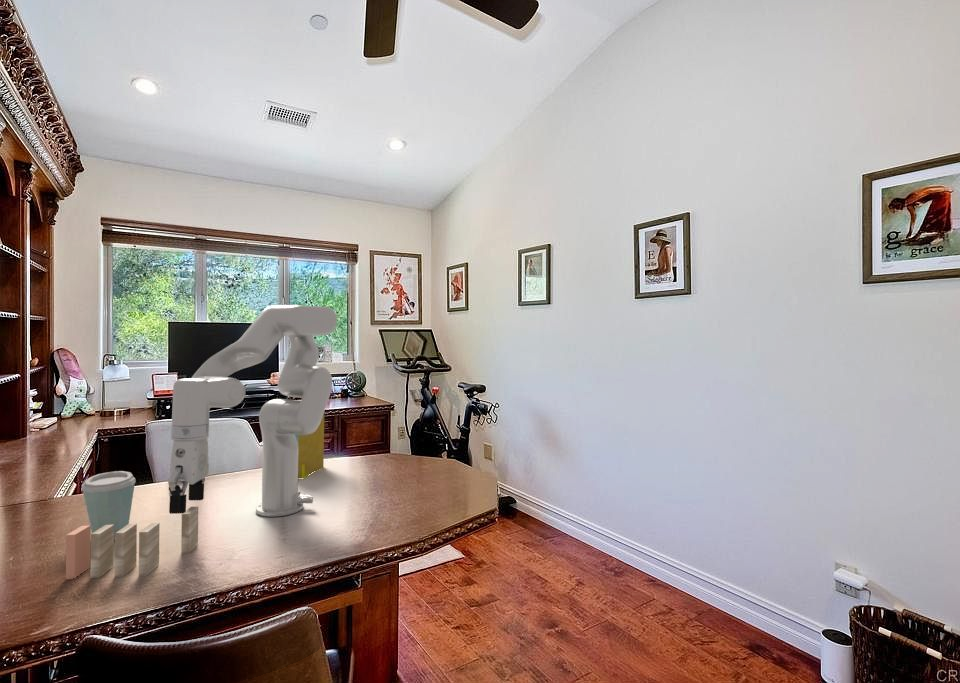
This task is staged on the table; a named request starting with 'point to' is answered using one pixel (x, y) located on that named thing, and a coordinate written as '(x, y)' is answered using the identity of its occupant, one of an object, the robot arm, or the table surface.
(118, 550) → the domino
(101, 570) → the domino
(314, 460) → the book
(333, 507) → the table surface
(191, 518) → the domino
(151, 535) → the domino
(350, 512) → the table surface
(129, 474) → the disposable coffee cup
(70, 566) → the domino
